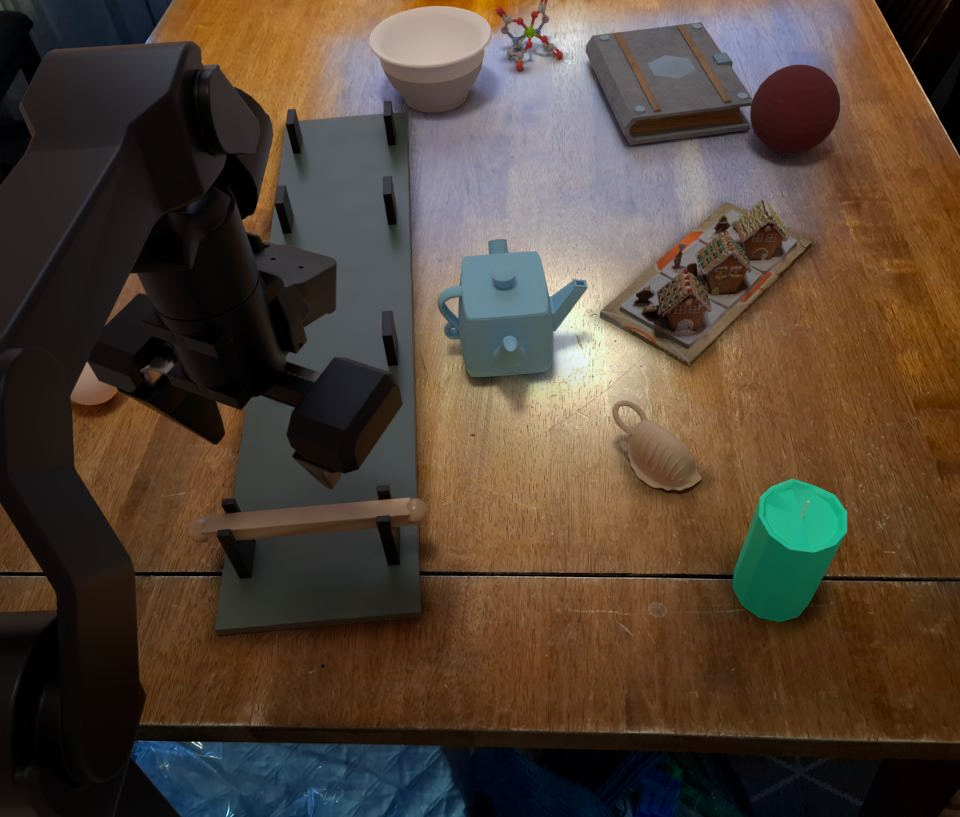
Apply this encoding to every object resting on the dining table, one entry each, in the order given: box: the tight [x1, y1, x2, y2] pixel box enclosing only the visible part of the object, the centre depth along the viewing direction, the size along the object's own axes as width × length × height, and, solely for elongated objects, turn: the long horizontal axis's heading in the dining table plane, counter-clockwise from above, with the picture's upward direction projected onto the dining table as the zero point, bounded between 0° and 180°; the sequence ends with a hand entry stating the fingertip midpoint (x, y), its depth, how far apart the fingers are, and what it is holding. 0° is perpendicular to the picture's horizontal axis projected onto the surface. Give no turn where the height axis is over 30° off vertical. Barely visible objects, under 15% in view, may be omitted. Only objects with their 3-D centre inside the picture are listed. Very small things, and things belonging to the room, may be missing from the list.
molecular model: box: [495, 0, 564, 71], centre depth 119 cm, size 7×8×8 cm
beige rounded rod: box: [187, 497, 429, 544], centre depth 66 cm, size 2×19×2 cm, turn 94°
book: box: [585, 21, 753, 146], centre depth 111 cm, size 21×16×5 cm
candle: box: [732, 478, 848, 623], centre depth 62 cm, size 6×6×12 cm
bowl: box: [368, 5, 493, 114], centre depth 113 cm, size 16×16×9 cm
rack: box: [214, 100, 422, 636], centre depth 87 cm, size 72×16×8 cm, turn 4°
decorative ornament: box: [611, 399, 703, 492], centre depth 73 cm, size 4×8×5 cm, turn 38°
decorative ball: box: [749, 64, 841, 155], centre depth 100 cm, size 10×10×10 cm
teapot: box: [437, 238, 588, 378], centre depth 81 cm, size 18×14×10 cm
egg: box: [70, 362, 119, 406], centre depth 81 cm, size 6×6×8 cm
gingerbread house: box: [599, 198, 813, 367], centre depth 87 cm, size 11×23×7 cm, turn 137°
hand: (275, 460), depth 56 cm, fingers open, 9 cm apart
